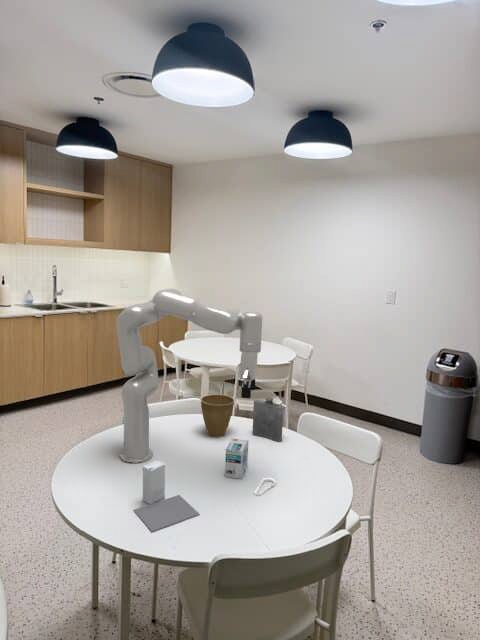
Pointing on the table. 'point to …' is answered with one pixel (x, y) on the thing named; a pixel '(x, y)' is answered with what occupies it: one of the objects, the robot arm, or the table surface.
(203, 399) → the plant pot
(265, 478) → the stepped key frame
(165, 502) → the mat
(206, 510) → the table surface
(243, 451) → the light bulb box
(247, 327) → the robot arm
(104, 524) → the table surface
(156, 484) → the skincare box
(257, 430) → the flask
